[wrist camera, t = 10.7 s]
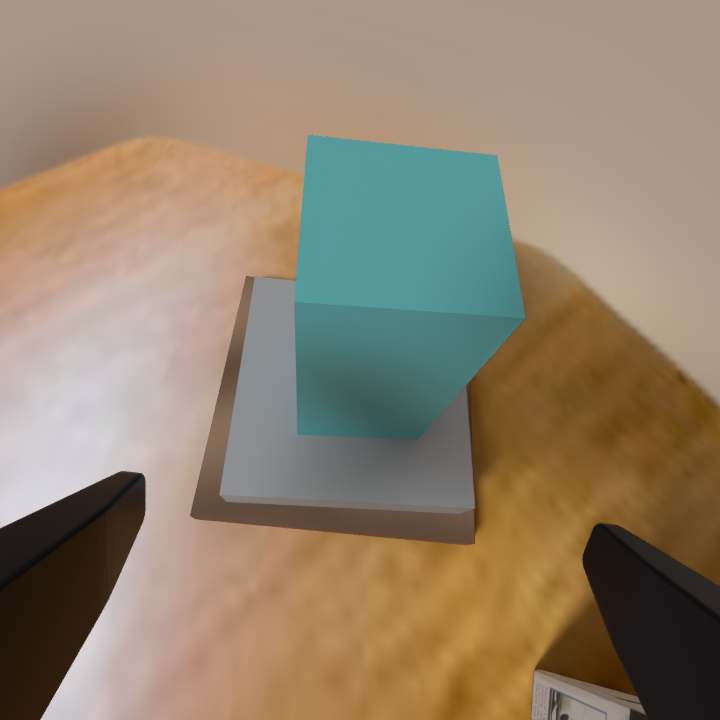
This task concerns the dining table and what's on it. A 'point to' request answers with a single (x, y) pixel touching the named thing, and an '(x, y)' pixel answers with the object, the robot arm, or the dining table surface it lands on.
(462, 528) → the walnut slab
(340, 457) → the grey slab
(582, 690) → the light bulb box
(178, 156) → the dining table surface
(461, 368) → the teal block
